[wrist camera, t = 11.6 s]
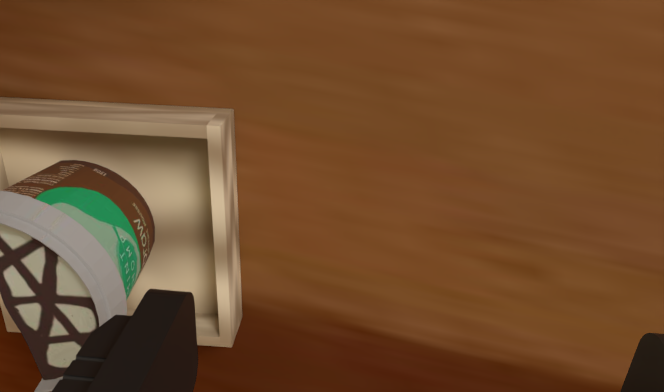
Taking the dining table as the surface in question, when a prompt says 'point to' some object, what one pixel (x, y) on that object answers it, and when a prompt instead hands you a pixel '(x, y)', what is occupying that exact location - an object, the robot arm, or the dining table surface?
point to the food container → (70, 257)
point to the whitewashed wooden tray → (149, 189)
